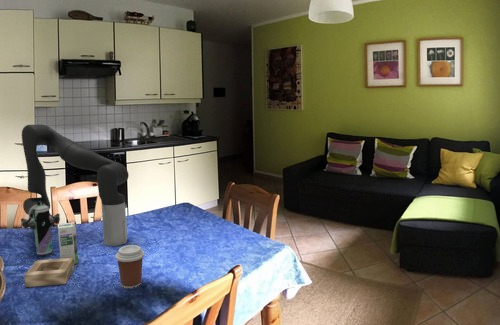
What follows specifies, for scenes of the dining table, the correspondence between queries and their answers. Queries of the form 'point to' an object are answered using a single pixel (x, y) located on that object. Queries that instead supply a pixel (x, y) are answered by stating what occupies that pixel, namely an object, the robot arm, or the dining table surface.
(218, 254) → the dining table surface
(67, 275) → the collar
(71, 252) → the syrup box
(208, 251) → the dining table surface
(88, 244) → the dining table surface
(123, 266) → the coffee cup
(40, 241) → the spray can
